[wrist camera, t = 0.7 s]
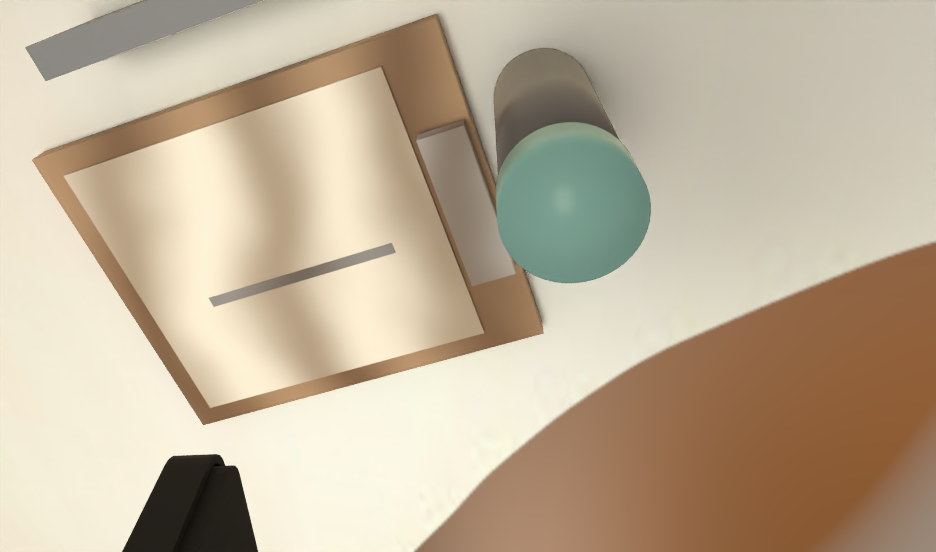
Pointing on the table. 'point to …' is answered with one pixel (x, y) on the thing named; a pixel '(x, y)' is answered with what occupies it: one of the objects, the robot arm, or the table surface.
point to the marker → (563, 173)
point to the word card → (125, 32)
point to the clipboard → (303, 226)
